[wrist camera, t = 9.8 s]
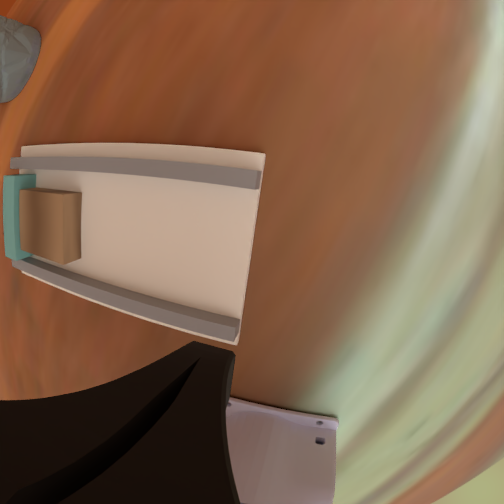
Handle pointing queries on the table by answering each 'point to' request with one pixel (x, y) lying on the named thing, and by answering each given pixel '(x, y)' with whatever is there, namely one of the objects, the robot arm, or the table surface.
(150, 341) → the table surface
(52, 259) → the block
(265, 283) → the table surface
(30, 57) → the grey tapered pot
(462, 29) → the table surface
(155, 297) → the track
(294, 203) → the table surface
